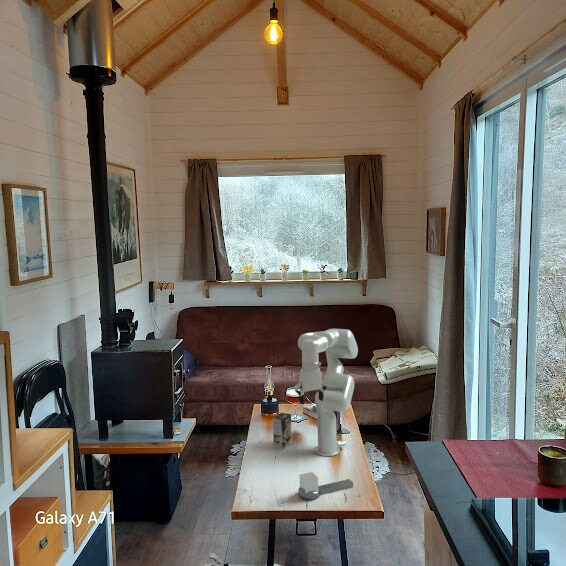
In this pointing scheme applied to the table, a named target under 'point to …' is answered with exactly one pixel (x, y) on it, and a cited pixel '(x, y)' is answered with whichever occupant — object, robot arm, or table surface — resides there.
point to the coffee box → (282, 431)
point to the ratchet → (326, 489)
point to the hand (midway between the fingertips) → (311, 401)
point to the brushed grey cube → (308, 482)
